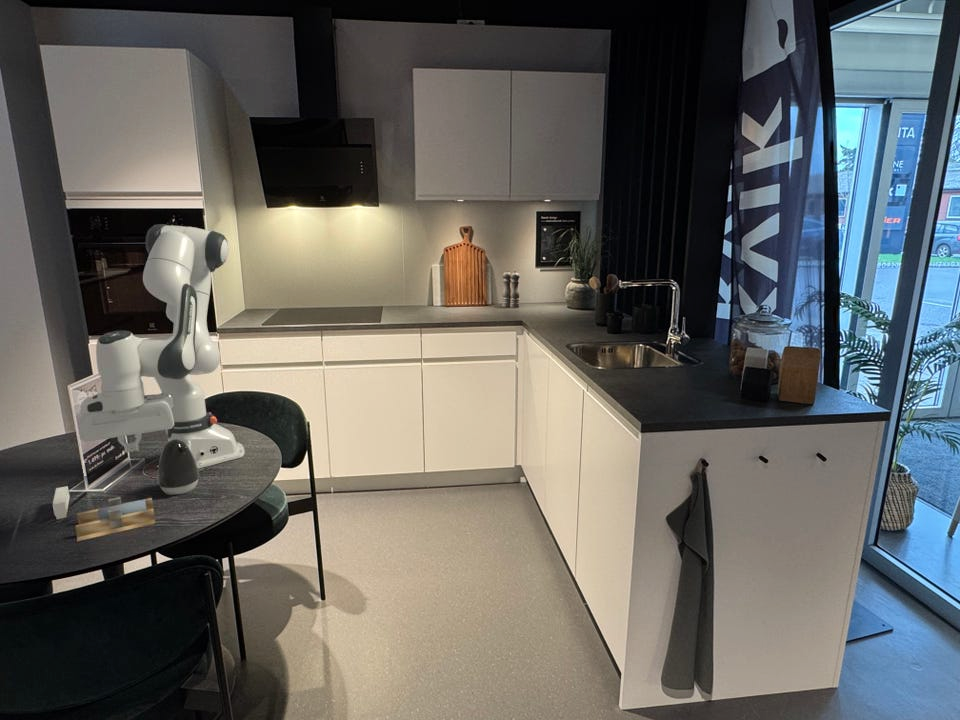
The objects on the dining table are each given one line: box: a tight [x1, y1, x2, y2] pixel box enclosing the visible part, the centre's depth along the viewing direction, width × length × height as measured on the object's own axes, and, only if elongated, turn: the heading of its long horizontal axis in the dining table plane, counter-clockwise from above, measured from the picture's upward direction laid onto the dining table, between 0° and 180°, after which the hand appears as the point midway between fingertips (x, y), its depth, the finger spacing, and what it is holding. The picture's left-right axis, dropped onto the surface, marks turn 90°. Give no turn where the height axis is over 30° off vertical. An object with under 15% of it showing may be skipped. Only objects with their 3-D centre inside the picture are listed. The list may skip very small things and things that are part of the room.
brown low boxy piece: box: [75, 496, 156, 542], centre depth 142 cm, size 24×12×6 cm, turn 121°
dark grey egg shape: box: [157, 439, 200, 496], centre depth 160 cm, size 10×10×15 cm
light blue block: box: [97, 498, 147, 520], centre depth 145 cm, size 10×4×4 cm, turn 121°
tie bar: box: [52, 485, 70, 520], centre depth 150 cm, size 2×10×5 cm, turn 31°
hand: (131, 450), depth 147 cm, fingers closed
